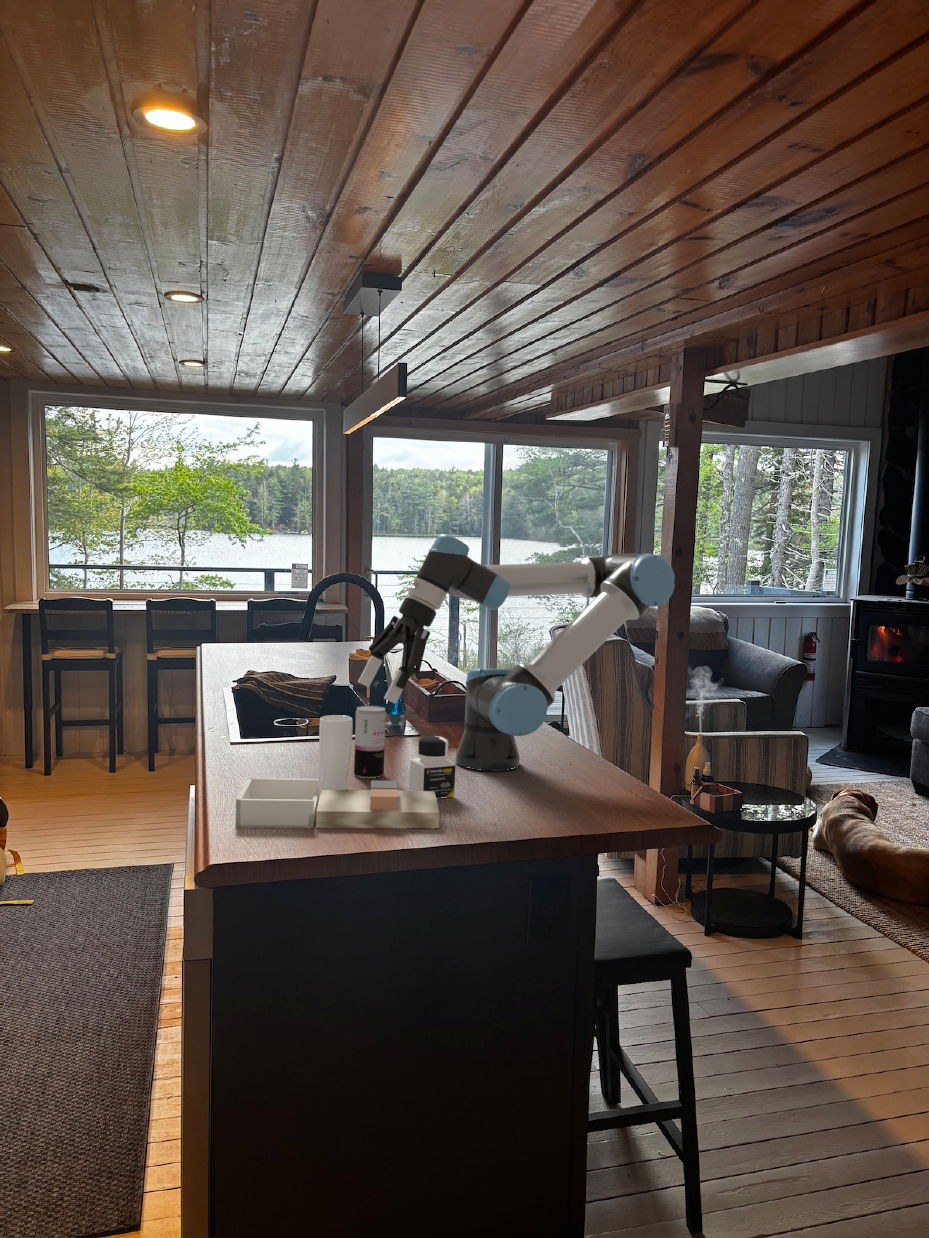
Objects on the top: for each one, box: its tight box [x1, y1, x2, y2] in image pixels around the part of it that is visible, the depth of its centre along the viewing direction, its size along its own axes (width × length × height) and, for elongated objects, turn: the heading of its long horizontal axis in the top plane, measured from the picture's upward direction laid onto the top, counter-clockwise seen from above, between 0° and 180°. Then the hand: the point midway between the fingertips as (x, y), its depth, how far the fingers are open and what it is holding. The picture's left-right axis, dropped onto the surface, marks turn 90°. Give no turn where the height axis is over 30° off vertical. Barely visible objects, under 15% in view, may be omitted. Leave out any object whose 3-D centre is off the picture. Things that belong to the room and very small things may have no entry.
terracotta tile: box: [370, 788, 399, 810], centre depth 161 cm, size 5×5×2 cm
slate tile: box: [370, 780, 399, 797], centre depth 167 cm, size 5×5×2 cm
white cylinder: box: [318, 714, 354, 790], centre depth 181 cm, size 7×7×15 cm
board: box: [315, 789, 440, 830], centre depth 164 cm, size 22×14×3 cm, turn 96°
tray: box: [235, 777, 320, 829], centre depth 162 cm, size 14×15×5 cm
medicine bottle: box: [408, 735, 456, 798], centre depth 180 cm, size 7×7×12 cm
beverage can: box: [353, 705, 387, 779], centre depth 193 cm, size 6×6×15 cm
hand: (375, 692), depth 185 cm, fingers open, 13 cm apart
